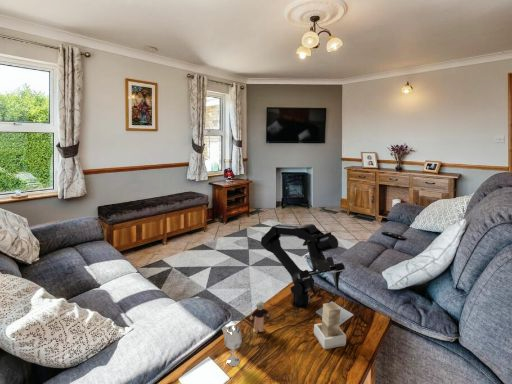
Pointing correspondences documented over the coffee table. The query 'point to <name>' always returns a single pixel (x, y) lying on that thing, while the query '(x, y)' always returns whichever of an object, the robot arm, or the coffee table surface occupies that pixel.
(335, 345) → the post socket
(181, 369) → the coffee table surface
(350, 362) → the coffee table surface
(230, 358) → the wineglass
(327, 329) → the birch post block
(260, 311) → the grandmother figurine
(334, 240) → the robot arm
